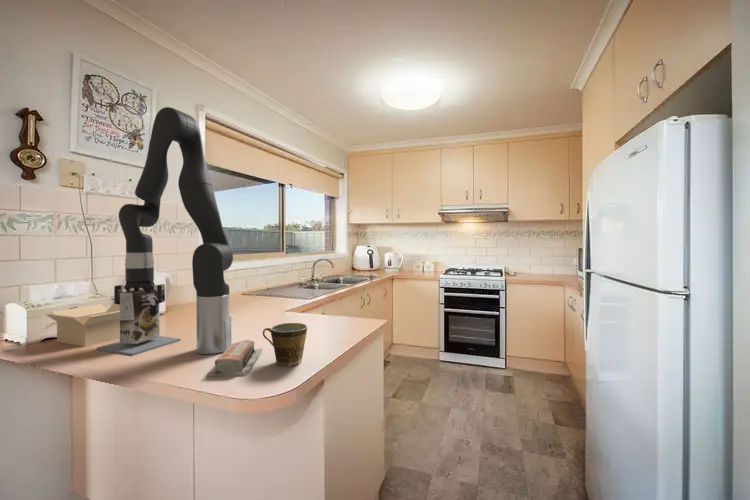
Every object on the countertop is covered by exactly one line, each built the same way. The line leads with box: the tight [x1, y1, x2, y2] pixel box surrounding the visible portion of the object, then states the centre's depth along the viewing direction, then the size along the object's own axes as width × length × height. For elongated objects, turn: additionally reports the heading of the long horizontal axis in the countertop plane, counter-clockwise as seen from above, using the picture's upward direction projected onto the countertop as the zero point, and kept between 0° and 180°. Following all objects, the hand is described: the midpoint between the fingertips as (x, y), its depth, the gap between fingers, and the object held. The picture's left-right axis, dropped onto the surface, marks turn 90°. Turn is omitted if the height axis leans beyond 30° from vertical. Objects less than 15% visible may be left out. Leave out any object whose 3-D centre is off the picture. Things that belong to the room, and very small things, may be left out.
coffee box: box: [119, 288, 161, 344], centre depth 107 cm, size 9×6×16 cm
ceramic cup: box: [262, 322, 308, 367], centre depth 93 cm, size 13×10×10 cm
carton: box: [45, 302, 120, 347], centre depth 115 cm, size 20×21×10 cm
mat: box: [96, 335, 181, 356], centre depth 107 cm, size 16×16×1 cm
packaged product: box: [206, 339, 263, 378], centre depth 92 cm, size 18×5×10 cm
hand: (140, 316), depth 107 cm, fingers closed on coffee box, 7 cm apart
